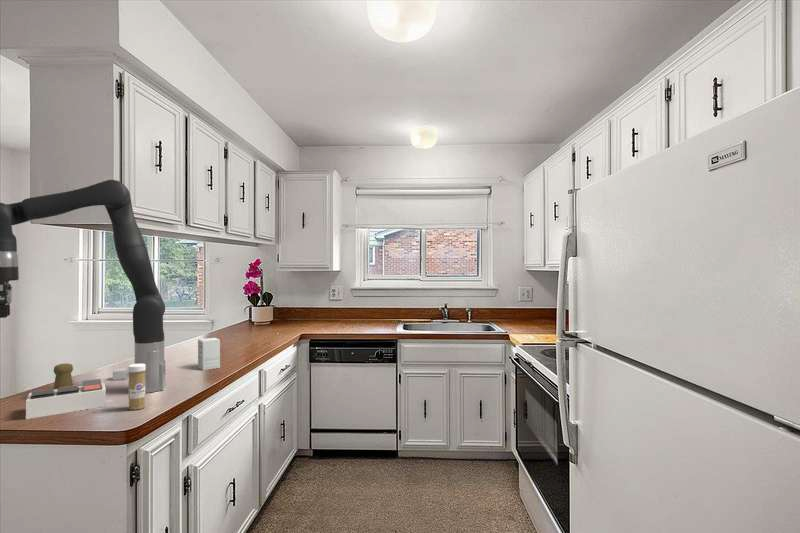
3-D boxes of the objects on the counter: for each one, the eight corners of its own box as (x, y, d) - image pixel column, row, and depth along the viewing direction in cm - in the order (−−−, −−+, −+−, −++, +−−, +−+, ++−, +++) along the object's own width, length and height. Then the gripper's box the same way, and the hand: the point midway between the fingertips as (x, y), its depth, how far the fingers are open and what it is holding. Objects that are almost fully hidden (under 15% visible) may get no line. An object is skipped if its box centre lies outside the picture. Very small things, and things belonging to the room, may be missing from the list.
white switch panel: (104, 398, 144) (104, 383, 144) (105, 406, 136) (105, 389, 136) (29, 409, 133) (29, 392, 133) (25, 419, 125) (25, 401, 125)
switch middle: (77, 390, 139) (77, 385, 139) (77, 389, 133) (77, 385, 133) (58, 393, 136) (58, 388, 136) (57, 392, 130) (57, 387, 130)
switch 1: (53, 393, 135) (53, 389, 135) (52, 393, 130) (52, 388, 130) (33, 396, 132) (33, 391, 132) (31, 396, 127) (31, 391, 127)
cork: (78, 393, 150) (78, 362, 150) (65, 398, 144) (66, 365, 144) (60, 394, 150) (60, 362, 150) (47, 399, 144) (47, 366, 144)
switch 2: (100, 382, 142) (100, 378, 142) (101, 391, 137) (101, 387, 136) (82, 384, 139) (82, 380, 139) (82, 394, 134) (82, 390, 133)
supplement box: (215, 365, 194) (215, 337, 194) (220, 368, 189) (220, 339, 189) (197, 367, 190) (197, 338, 190) (202, 370, 184) (202, 341, 184)
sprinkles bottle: (133, 411, 131) (133, 366, 131) (125, 409, 133) (125, 365, 133) (148, 407, 135) (148, 363, 135) (140, 405, 137) (140, 362, 137)
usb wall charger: (117, 378, 172) (117, 368, 172) (136, 377, 174) (136, 367, 174) (112, 380, 168) (112, 370, 168) (132, 379, 170) (132, 369, 170)
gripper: (16, 265, 135) (18, 317, 135) (19, 266, 146) (21, 314, 146) (-17, 265, 130) (-16, 319, 130) (-11, 266, 141) (-10, 316, 141)
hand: (4, 316), depth 138 cm, fingers open, 8 cm apart
